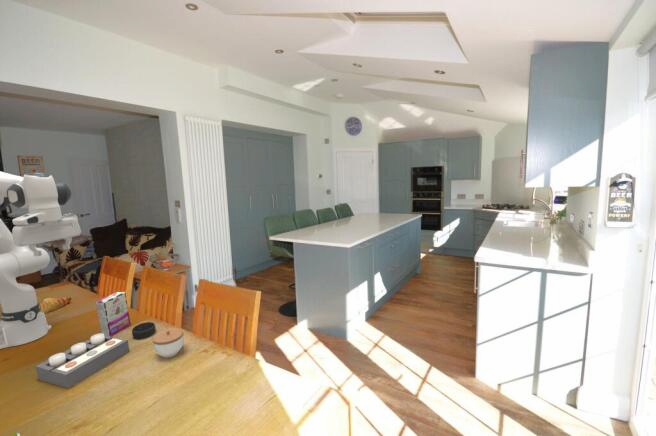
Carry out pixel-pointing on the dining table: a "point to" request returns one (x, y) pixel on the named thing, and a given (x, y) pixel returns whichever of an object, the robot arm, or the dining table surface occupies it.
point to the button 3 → (97, 339)
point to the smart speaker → (143, 330)
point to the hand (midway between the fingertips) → (52, 252)
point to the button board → (83, 362)
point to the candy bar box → (113, 313)
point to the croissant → (52, 304)
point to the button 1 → (57, 360)
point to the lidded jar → (168, 342)
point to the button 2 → (78, 349)
